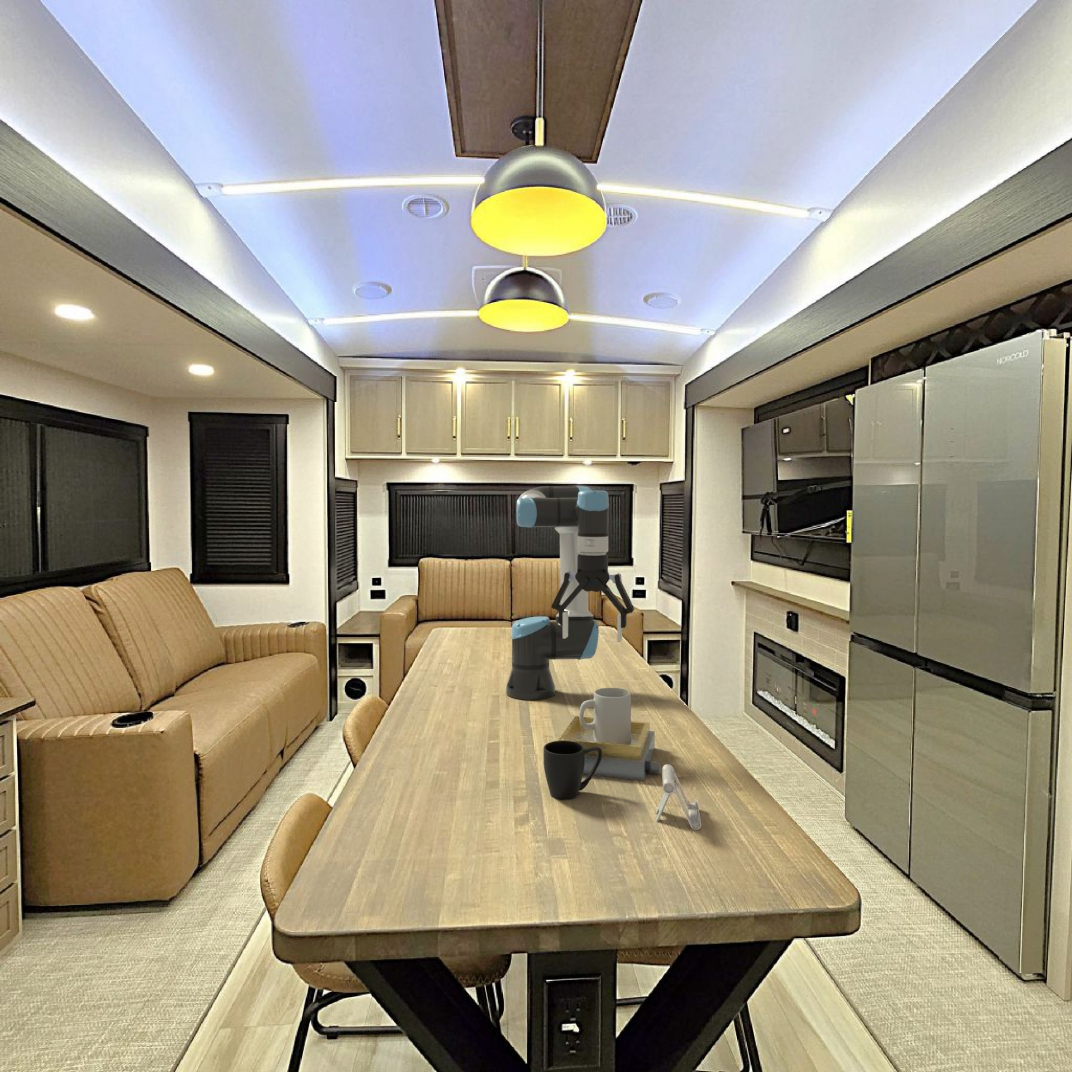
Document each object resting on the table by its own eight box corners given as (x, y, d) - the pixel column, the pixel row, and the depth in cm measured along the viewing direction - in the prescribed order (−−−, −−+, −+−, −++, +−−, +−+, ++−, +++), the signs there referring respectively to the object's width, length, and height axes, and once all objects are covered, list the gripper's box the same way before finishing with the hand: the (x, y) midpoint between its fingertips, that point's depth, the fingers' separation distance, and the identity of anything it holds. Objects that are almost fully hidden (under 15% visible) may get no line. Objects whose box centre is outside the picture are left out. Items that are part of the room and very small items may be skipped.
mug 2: (624, 732, 157) (624, 686, 157) (636, 745, 149) (636, 696, 149) (575, 735, 155) (575, 689, 155) (584, 748, 147) (584, 699, 146)
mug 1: (607, 799, 131) (608, 751, 130) (548, 804, 129) (548, 756, 128) (596, 782, 139) (596, 737, 138) (539, 787, 137) (539, 741, 136)
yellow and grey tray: (552, 770, 145) (552, 741, 145) (572, 739, 164) (572, 714, 164) (657, 782, 139) (657, 751, 139) (666, 749, 158) (666, 722, 158)
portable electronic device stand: (701, 831, 118) (701, 784, 118) (656, 827, 120) (656, 781, 119) (698, 809, 127) (698, 766, 126) (656, 806, 128) (656, 763, 128)
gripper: (539, 553, 162) (539, 639, 164) (642, 556, 155) (641, 645, 157) (547, 550, 170) (547, 632, 171) (645, 553, 163) (644, 638, 164)
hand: (592, 639), depth 164 cm, fingers open, 13 cm apart
